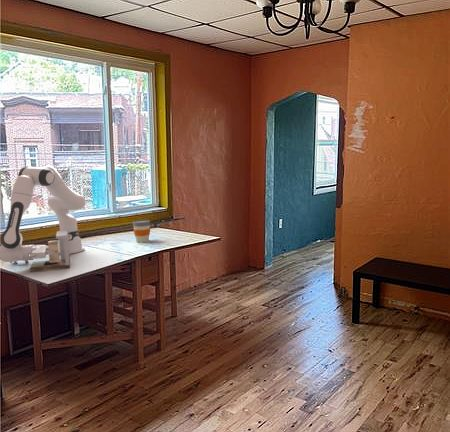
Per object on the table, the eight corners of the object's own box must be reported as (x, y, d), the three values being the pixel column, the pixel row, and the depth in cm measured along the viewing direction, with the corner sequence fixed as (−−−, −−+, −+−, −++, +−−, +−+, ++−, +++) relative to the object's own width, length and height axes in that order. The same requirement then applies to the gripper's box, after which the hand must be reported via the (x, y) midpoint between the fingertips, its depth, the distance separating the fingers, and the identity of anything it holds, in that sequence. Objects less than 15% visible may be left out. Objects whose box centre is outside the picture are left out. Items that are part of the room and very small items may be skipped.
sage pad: (32, 263, 266) (32, 262, 265) (44, 262, 268) (44, 261, 268) (30, 267, 257) (30, 266, 257) (43, 265, 259) (43, 265, 259)
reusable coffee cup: (153, 239, 335) (152, 219, 332) (148, 243, 322) (147, 222, 320) (136, 239, 336) (135, 219, 334) (131, 243, 324) (130, 222, 321)
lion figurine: (36, 261, 277) (34, 247, 276) (33, 263, 272) (31, 249, 271) (11, 262, 276) (10, 248, 275) (8, 265, 271) (6, 250, 270)
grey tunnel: (59, 259, 273) (56, 231, 271) (69, 258, 275) (67, 230, 272) (58, 265, 258) (55, 236, 256) (69, 264, 260) (66, 235, 257)
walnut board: (33, 265, 269) (32, 261, 269) (69, 261, 276) (69, 258, 275) (30, 272, 254) (30, 268, 254) (69, 268, 260) (69, 264, 260)
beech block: (50, 260, 266) (48, 241, 265) (59, 259, 268) (57, 240, 266) (49, 262, 262) (47, 242, 260) (58, 261, 263) (57, 241, 261)
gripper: (27, 251, 250) (53, 248, 254) (30, 243, 269) (55, 241, 273) (28, 262, 251) (54, 259, 255) (31, 254, 270) (56, 251, 274)
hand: (55, 250), depth 264 cm, fingers closed on beech block, 5 cm apart
